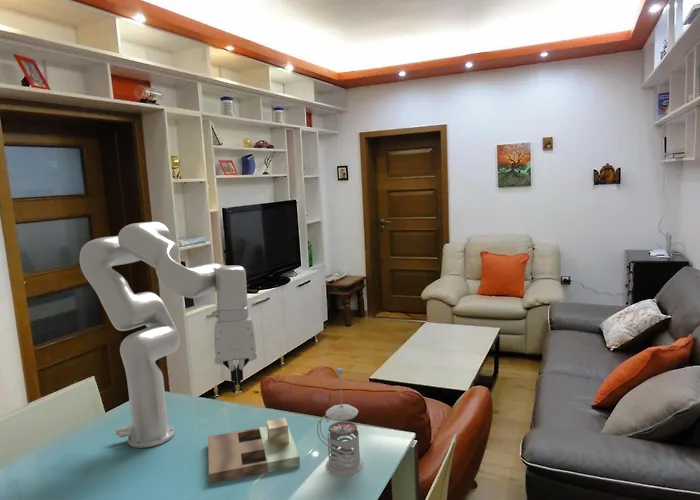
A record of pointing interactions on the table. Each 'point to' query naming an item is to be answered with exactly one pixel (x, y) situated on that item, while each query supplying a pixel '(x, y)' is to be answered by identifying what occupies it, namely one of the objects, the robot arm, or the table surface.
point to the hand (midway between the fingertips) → (237, 383)
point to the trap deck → (248, 454)
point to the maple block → (277, 432)
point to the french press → (345, 457)
